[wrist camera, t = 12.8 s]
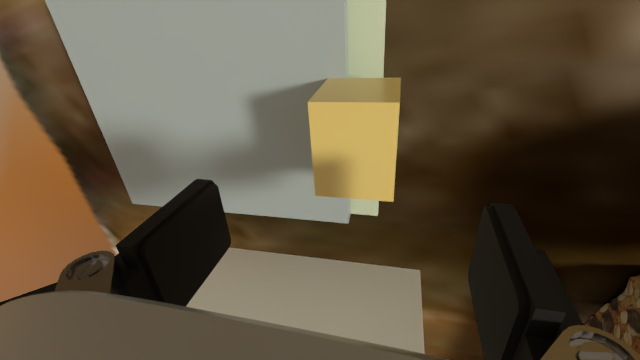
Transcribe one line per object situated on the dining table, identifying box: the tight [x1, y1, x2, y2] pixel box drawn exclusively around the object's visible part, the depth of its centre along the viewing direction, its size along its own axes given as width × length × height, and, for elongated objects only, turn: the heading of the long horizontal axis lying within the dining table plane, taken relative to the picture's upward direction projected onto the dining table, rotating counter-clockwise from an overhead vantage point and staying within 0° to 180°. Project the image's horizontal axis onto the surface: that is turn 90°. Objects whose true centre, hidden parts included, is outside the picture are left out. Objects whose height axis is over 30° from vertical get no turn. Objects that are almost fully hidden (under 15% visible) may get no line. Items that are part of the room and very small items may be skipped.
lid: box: [45, 0, 401, 223], centre depth 20 cm, size 21×15×7 cm
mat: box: [348, 0, 386, 216], centre depth 23 cm, size 21×17×1 cm
